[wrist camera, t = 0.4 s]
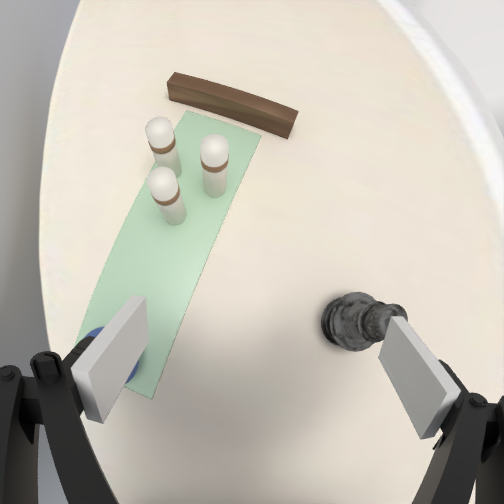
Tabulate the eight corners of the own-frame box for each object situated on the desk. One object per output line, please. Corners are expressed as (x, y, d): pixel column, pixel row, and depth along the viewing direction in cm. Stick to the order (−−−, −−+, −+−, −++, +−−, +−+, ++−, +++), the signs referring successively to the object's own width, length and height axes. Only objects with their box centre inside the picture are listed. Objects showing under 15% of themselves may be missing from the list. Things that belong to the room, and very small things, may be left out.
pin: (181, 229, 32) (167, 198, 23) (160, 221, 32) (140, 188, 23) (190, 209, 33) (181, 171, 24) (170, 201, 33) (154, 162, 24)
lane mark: (152, 398, 28) (151, 399, 28) (71, 357, 28) (71, 357, 28) (261, 136, 35) (261, 135, 35) (186, 111, 35) (186, 110, 35)
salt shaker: (308, 330, 31) (356, 336, 20) (336, 284, 33) (394, 266, 21) (350, 358, 31) (412, 374, 19) (376, 312, 32) (444, 307, 21)
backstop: (287, 139, 36) (293, 123, 32) (169, 99, 35) (166, 82, 32) (292, 127, 36) (298, 111, 33) (177, 89, 36) (174, 72, 32)
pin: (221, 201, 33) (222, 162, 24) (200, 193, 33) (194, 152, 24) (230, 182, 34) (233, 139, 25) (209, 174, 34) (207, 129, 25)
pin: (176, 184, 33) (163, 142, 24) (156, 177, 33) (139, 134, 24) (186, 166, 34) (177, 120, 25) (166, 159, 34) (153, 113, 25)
